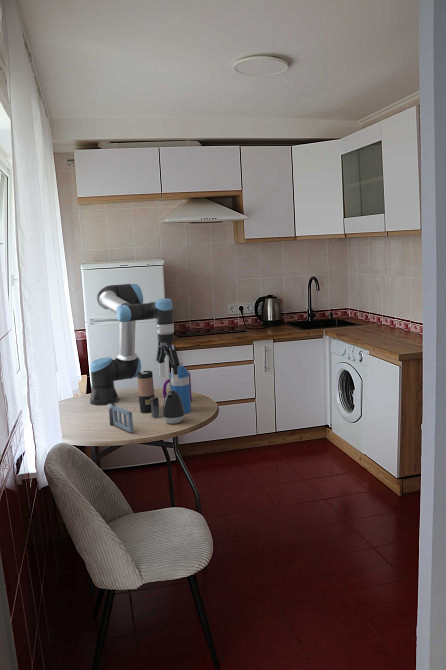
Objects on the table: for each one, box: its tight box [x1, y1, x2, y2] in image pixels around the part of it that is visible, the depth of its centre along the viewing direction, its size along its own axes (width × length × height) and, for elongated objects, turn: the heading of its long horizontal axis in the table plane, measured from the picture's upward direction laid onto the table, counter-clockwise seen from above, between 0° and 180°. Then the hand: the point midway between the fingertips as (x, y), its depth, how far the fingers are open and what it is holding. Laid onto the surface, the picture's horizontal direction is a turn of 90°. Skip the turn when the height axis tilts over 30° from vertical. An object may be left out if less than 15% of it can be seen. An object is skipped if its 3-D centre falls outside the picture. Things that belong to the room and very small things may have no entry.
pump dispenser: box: [162, 389, 185, 425], centre depth 261 cm, size 10×10×15 cm
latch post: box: [145, 396, 160, 419], centre depth 272 cm, size 4×5×10 cm, turn 116°
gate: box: [112, 404, 134, 433], centre depth 254 cm, size 2×17×9 cm, turn 36°
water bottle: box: [169, 360, 192, 415], centre depth 278 cm, size 9×9×25 cm
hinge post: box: [107, 403, 115, 426], centre depth 263 cm, size 3×3×10 cm
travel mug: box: [136, 370, 155, 414], centre depth 282 cm, size 8×8×20 cm
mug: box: [162, 372, 193, 402], centre depth 297 cm, size 9×16×15 cm, turn 118°
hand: (168, 379), depth 258 cm, fingers open, 13 cm apart
